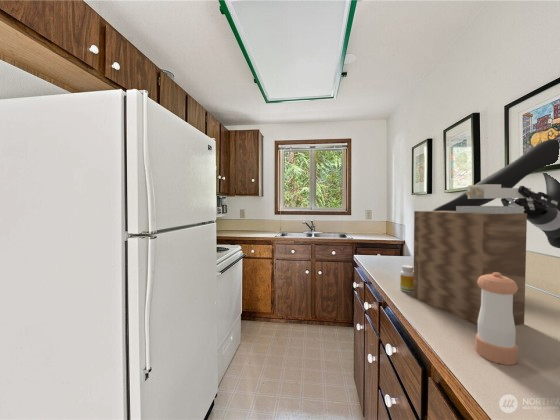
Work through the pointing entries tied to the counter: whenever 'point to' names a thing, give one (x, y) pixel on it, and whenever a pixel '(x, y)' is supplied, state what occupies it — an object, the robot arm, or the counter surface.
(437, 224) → the walnut shelf
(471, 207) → the socket block
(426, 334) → the counter surface
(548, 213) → the robot arm
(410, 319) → the counter surface
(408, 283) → the supplement bottle
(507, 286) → the pepper shaker
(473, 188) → the plug
